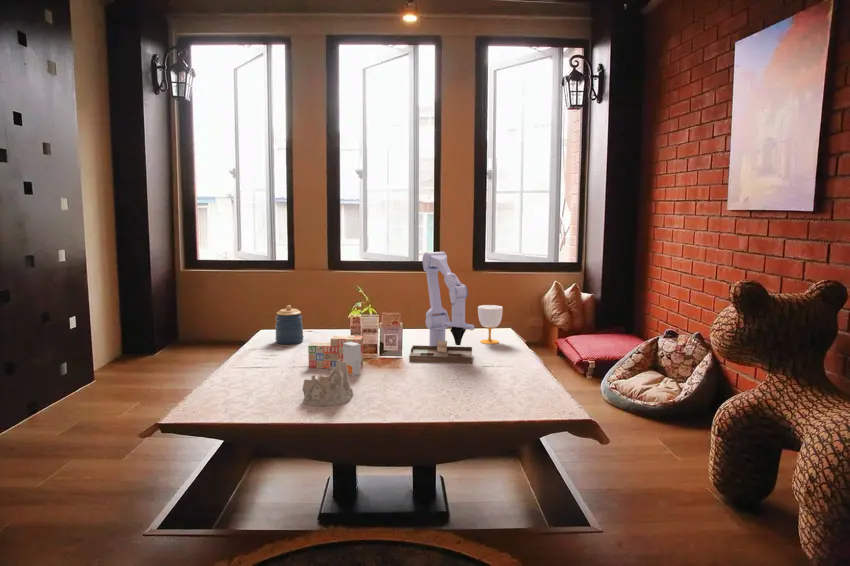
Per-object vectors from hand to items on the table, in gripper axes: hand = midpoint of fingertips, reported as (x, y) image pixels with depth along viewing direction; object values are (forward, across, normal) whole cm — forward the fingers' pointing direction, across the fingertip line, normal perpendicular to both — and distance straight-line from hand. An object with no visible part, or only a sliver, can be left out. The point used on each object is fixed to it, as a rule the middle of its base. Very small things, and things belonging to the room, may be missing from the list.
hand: (458, 344), depth 261 cm
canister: (+6, +82, +19) cm, 84 cm away
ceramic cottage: (+6, +9, +72) cm, 73 cm away
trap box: (+6, +5, +5) cm, 9 cm away
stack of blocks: (+6, +34, +40) cm, 53 cm away
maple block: (+3, +7, +2) cm, 8 cm away
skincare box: (+6, +22, +44) cm, 50 cm away
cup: (+6, +2, -34) cm, 35 cm away
